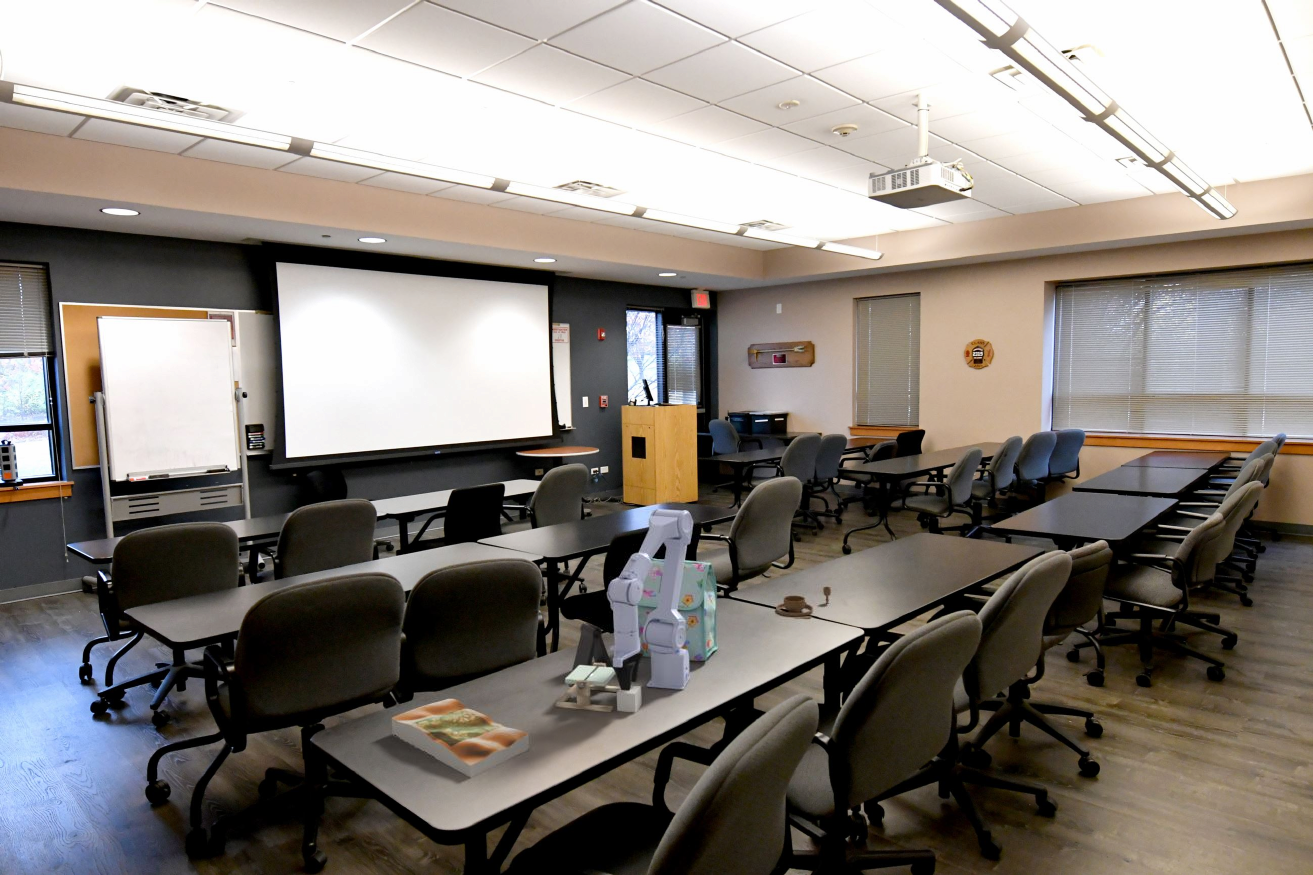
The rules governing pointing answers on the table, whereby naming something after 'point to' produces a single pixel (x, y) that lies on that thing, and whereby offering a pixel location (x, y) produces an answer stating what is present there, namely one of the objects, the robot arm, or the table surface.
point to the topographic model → (459, 736)
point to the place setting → (799, 605)
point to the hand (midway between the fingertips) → (628, 685)
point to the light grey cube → (629, 699)
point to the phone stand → (591, 647)
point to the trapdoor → (591, 675)
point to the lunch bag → (685, 606)
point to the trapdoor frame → (585, 695)
